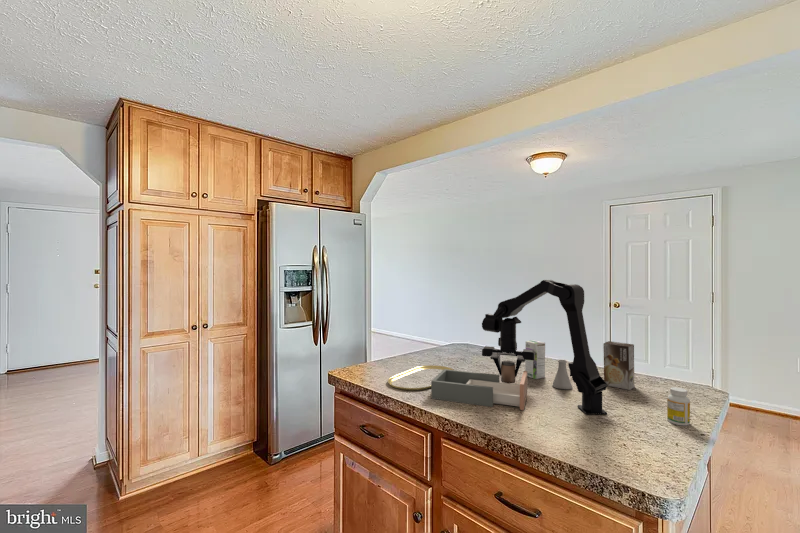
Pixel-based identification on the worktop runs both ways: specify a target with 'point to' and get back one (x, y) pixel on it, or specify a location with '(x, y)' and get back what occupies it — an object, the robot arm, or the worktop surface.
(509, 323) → the robot arm
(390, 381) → the gold oval hoop
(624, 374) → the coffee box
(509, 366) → the spice jar
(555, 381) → the flask
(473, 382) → the tray
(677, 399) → the supplement bottle
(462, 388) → the dock
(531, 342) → the syrup box
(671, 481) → the worktop surface
